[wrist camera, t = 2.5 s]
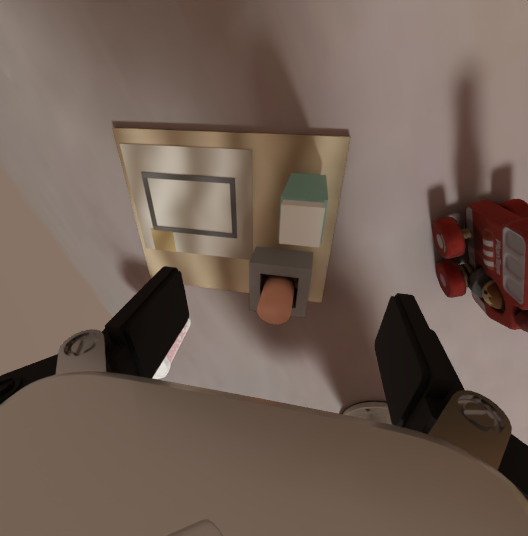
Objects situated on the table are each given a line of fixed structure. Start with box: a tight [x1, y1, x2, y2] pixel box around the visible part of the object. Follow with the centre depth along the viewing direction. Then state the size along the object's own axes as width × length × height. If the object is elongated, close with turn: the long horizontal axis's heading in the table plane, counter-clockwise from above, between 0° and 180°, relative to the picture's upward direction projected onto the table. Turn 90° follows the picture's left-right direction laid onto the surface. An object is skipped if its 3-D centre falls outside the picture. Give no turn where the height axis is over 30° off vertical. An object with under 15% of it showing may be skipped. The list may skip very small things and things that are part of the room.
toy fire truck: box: [432, 199, 528, 332], centre depth 24 cm, size 7×12×10 cm, turn 23°
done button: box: [257, 275, 295, 324], centre depth 29 cm, size 4×4×5 cm
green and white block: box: [278, 173, 328, 247], centre depth 23 cm, size 3×3×11 cm
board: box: [112, 128, 351, 303], centre depth 31 cm, size 25×20×1 cm
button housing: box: [249, 246, 313, 318], centre depth 32 cm, size 7×7×4 cm
